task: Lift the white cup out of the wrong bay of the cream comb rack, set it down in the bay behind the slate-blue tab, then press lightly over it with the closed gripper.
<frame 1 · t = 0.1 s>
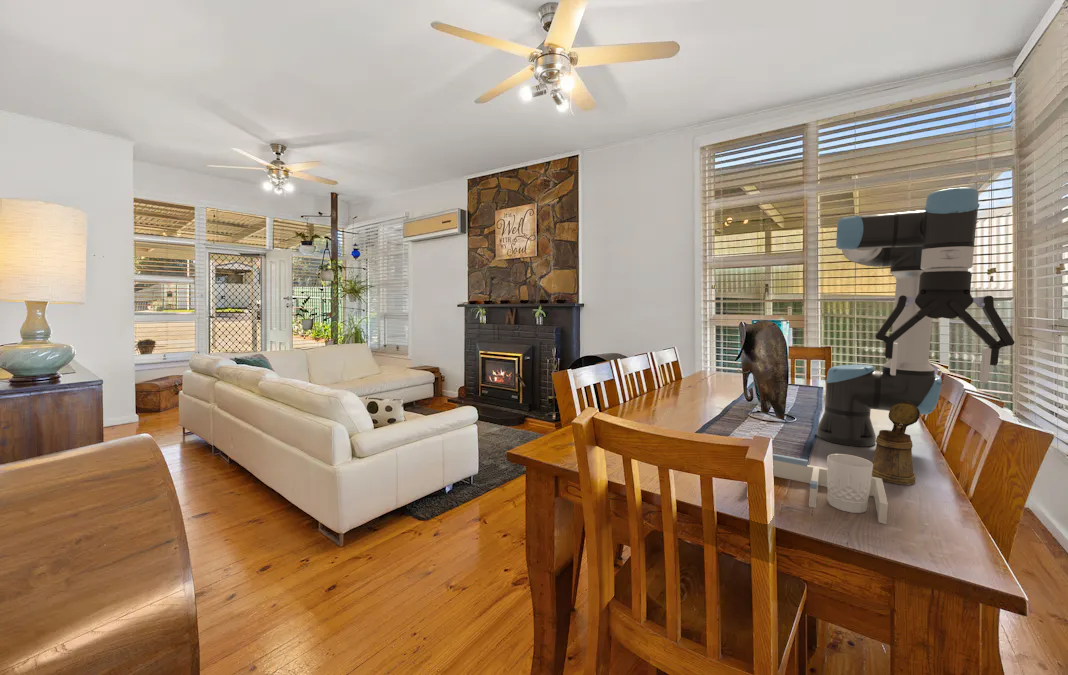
hand: (936, 378, 90), 28 cm above the table, fingers open, 13 cm apart
comb rack: (813, 498, 98), on the table
white cup: (846, 506, 95), on the table
wooden mug: (894, 476, 111), on the table
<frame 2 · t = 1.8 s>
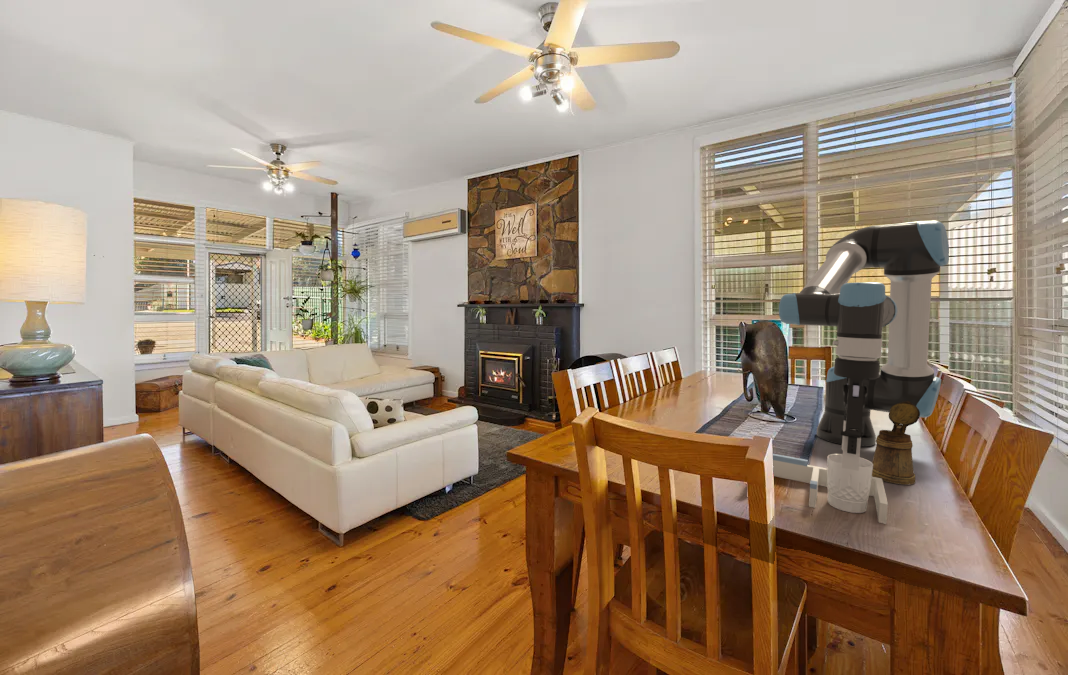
hand: (849, 459, 94), 10 cm above the table, fingers open, 13 cm apart
nothing on the table moved.
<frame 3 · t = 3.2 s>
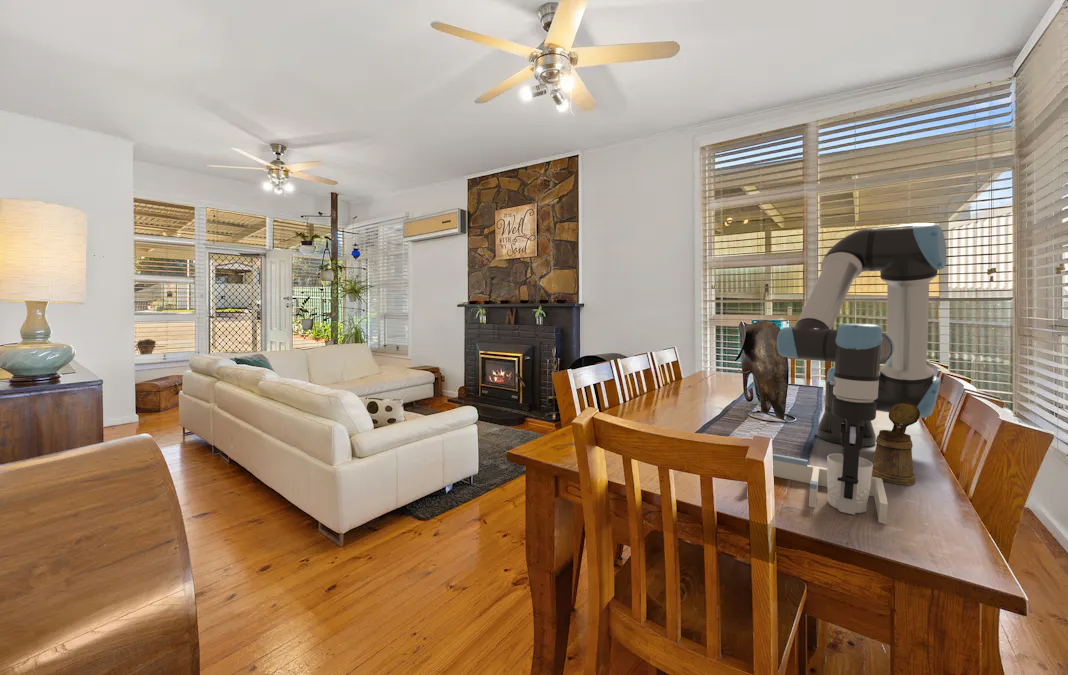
hand: (846, 504, 95), 0 cm above the table, fingers closed on white cup, 7 cm apart
white cup: (846, 506, 95), on the table, touching gripper
everything else where it was.
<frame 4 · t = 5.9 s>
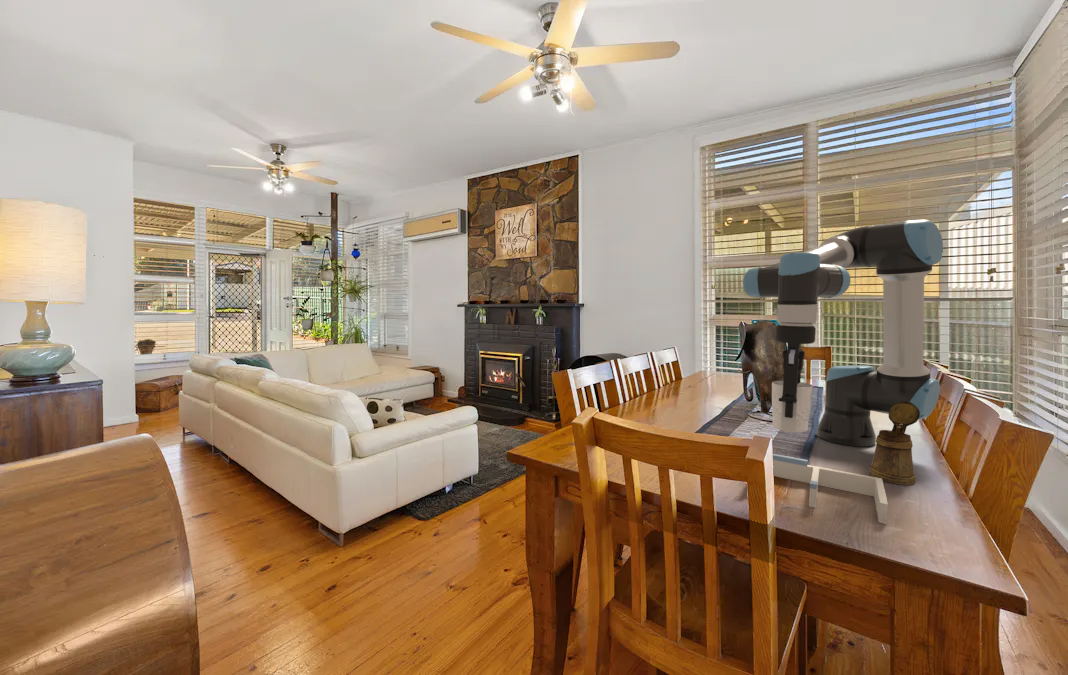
hand: (789, 426, 100), 15 cm above the table, fingers closed on white cup, 7 cm apart
white cup: (789, 429, 100), point 15 cm above the table, touching gripper
everything else where it was.
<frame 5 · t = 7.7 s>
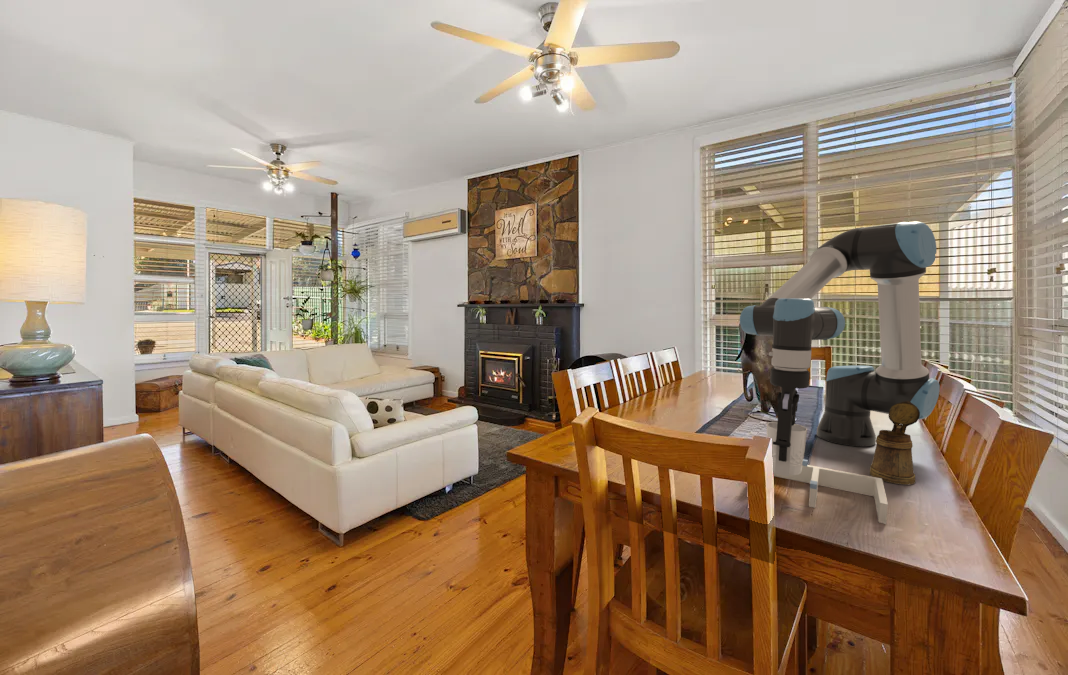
hand: (784, 468, 101), 5 cm above the table, fingers closed on white cup, 7 cm apart
white cup: (783, 470, 101), point 5 cm above the table, touching gripper
everything else where it was.
when the fingers open (2 cm above the table, at t = 8.9 s): white cup drops 1 cm, on the table.
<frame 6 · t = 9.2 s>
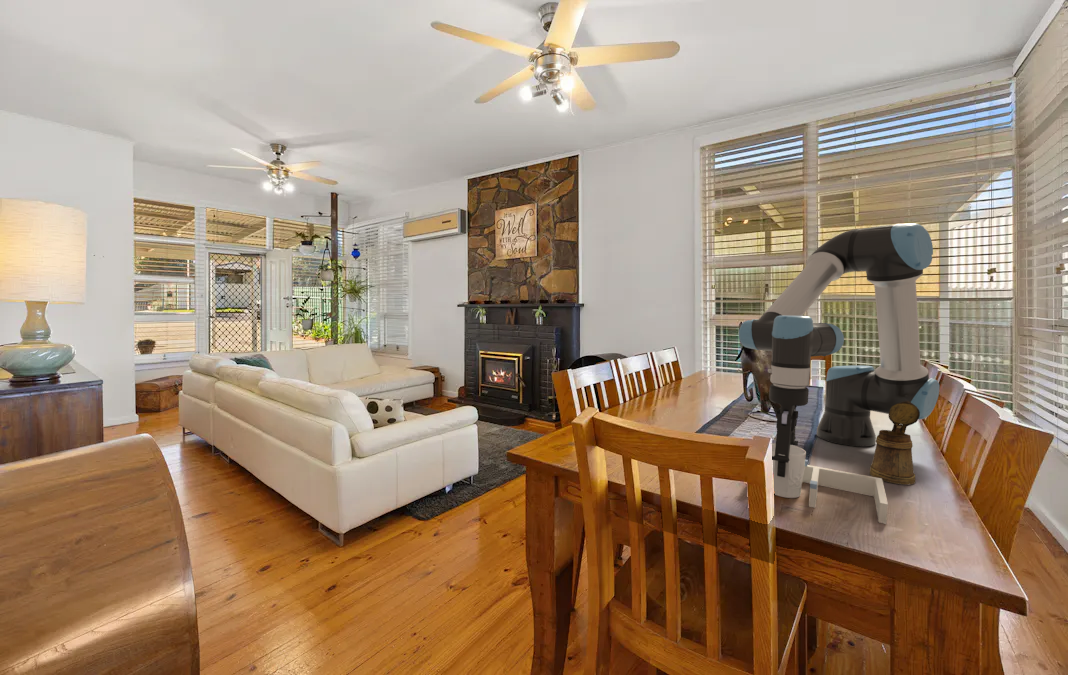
hand: (783, 480, 101), 3 cm above the table, fingers open, 11 cm apart
white cup: (783, 492, 101), on the table
everything else where it was.
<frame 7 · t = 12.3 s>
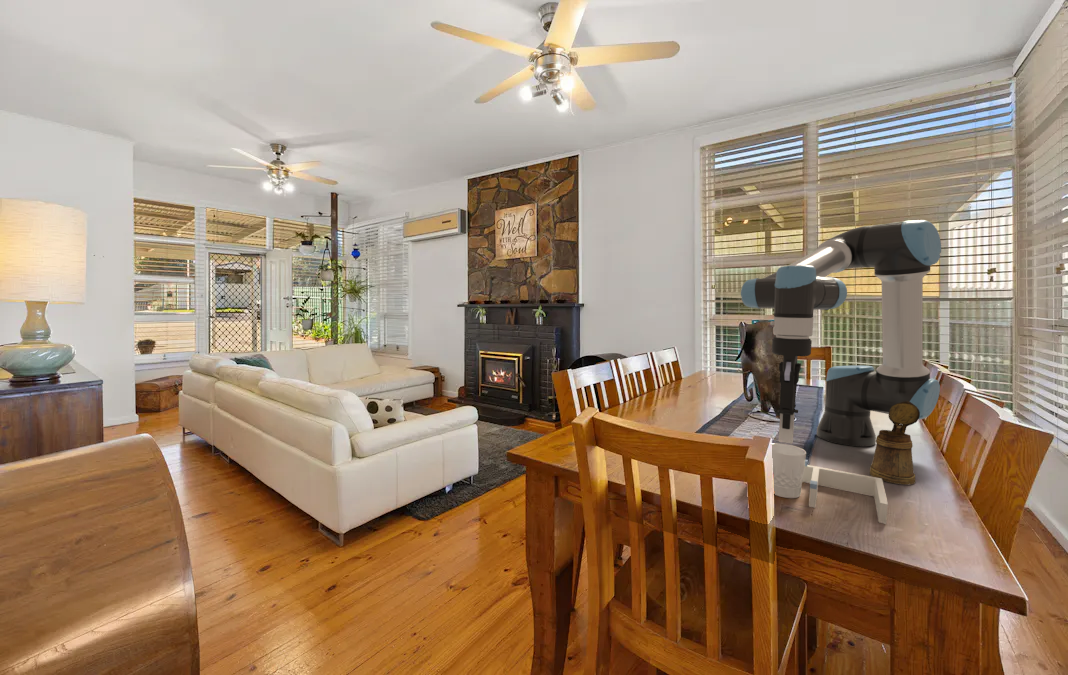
hand: (785, 441, 100), 12 cm above the table, fingers closed
nothing on the table moved.
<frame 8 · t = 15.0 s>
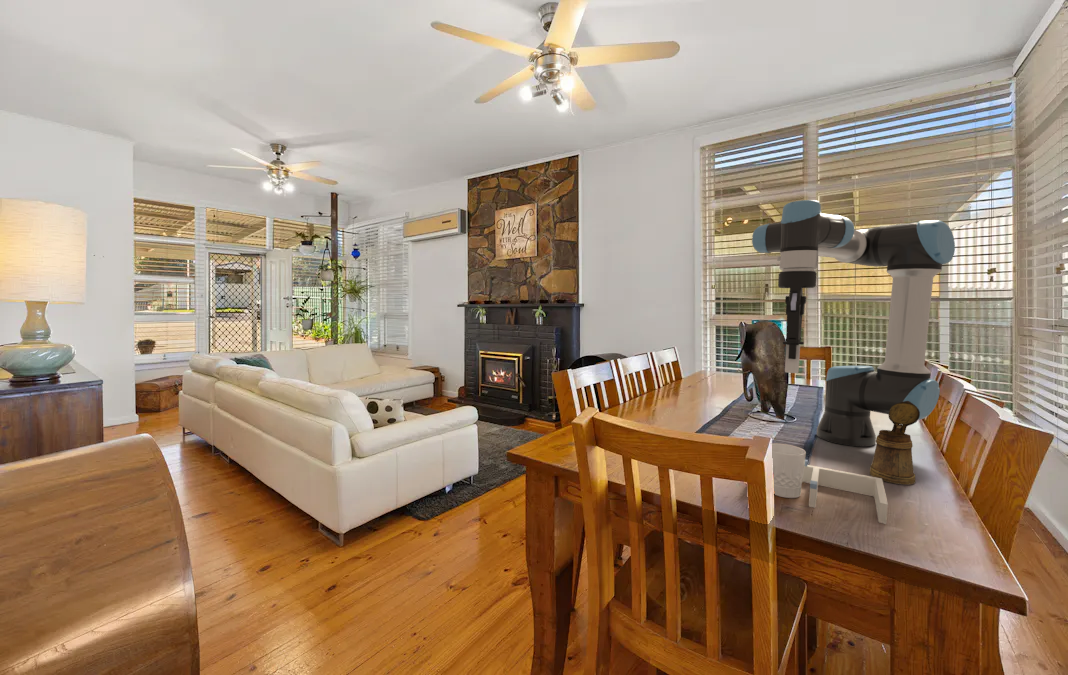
hand: (791, 372, 105), 26 cm above the table, fingers closed
nothing on the table moved.
at the end: white cup inside the target area (0.8 cm from its centre), on the table; white cup tilted 0°; the gripper is holding nothing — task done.
